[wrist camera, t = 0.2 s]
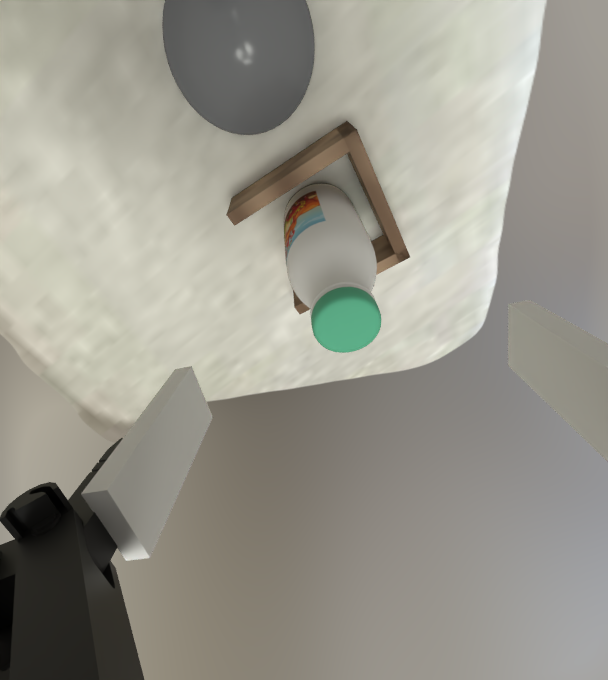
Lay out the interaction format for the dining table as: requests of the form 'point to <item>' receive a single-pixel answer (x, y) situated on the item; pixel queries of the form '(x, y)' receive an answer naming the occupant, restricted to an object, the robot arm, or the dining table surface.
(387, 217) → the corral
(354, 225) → the milk bottle
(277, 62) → the coaster
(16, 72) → the dining table surface
